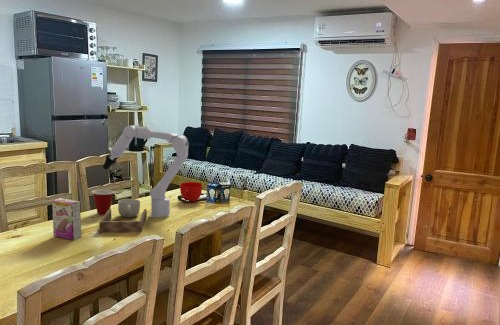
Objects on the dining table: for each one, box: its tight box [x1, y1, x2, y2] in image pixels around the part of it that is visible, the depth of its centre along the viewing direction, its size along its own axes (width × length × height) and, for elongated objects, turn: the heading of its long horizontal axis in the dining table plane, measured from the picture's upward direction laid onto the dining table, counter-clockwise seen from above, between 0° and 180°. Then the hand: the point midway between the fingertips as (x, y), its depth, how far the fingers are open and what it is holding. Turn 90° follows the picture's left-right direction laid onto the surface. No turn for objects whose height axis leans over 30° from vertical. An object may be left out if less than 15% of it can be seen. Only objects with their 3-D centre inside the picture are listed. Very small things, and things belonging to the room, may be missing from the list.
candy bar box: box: [51, 197, 82, 241], centre depth 168 cm, size 11×5×16 cm, turn 71°
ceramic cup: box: [179, 181, 203, 202], centre depth 229 cm, size 13×17×10 cm
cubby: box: [98, 208, 148, 234], centre depth 186 cm, size 18×19×5 cm
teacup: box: [117, 198, 141, 218], centre depth 198 cm, size 14×11×8 cm
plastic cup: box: [91, 189, 115, 216], centre depth 202 cm, size 11×11×12 cm
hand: (106, 166), depth 200 cm, fingers open, 7 cm apart
